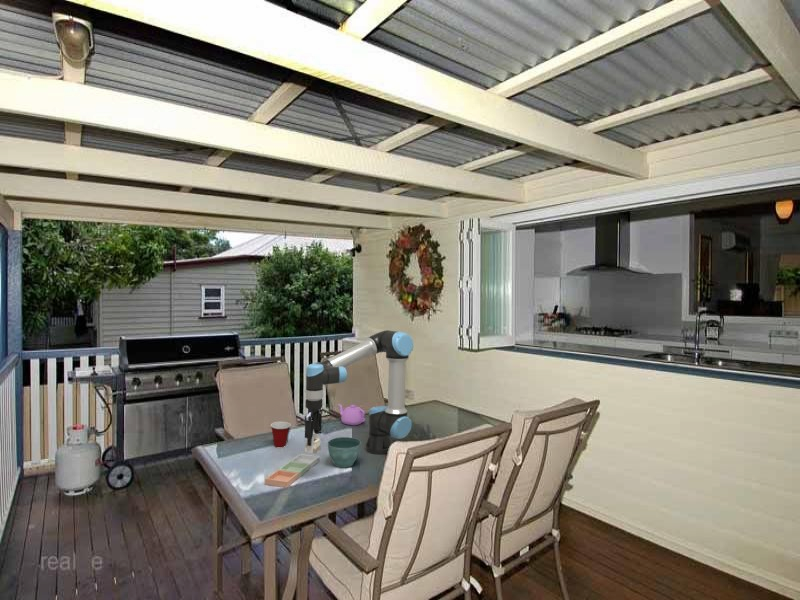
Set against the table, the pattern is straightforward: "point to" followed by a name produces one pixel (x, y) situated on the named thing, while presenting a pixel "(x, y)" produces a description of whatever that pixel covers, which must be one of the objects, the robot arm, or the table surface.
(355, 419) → the teapot
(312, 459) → the box grey
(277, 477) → the box terracotta
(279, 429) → the plastic cup
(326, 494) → the table surface
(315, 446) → the letter cube
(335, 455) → the flower pot
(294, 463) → the box sage
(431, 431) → the table surface
